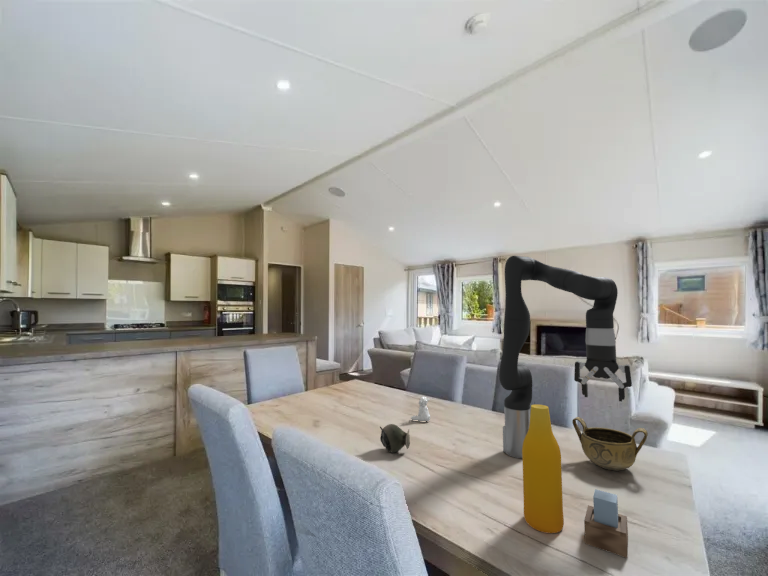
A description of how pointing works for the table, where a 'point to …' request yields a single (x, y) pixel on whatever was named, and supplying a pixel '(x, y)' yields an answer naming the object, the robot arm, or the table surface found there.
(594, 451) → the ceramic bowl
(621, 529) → the walnut base
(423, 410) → the sitting furry creature
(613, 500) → the lid block
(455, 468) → the table surface
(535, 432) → the beer bottle
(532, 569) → the table surface
